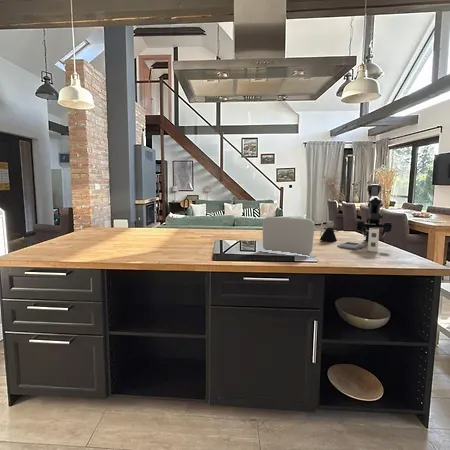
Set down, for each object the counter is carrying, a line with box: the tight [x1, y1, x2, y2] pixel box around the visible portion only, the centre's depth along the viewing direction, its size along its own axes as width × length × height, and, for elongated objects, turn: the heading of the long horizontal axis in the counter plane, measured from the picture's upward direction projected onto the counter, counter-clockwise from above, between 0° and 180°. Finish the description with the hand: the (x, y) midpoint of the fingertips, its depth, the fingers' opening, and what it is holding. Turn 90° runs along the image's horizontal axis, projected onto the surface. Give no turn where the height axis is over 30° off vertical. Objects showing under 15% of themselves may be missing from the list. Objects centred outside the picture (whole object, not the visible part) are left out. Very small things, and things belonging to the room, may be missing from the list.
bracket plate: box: [337, 241, 368, 251], centre depth 201 cm, size 17×12×2 cm
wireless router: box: [262, 216, 317, 258], centre depth 178 cm, size 31×10×20 cm, turn 65°
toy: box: [319, 220, 339, 243], centre depth 216 cm, size 12×7×15 cm, turn 84°
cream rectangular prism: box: [367, 228, 380, 253], centre depth 189 cm, size 5×5×13 cm
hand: (373, 237), depth 189 cm, fingers open, 9 cm apart
